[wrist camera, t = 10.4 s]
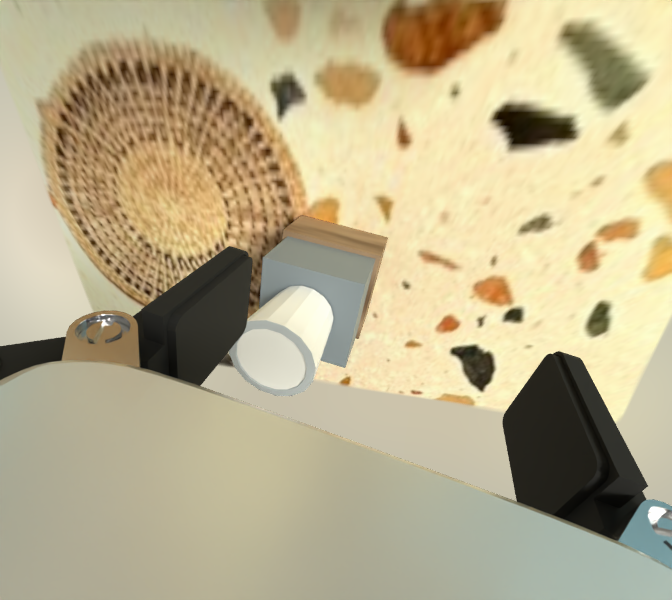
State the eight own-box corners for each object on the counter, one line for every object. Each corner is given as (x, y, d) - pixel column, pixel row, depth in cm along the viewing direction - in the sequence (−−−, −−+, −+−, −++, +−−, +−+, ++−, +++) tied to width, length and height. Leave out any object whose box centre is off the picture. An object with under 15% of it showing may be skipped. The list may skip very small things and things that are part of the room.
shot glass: (340, 283, 29) (313, 327, 23) (340, 350, 33) (316, 405, 27) (264, 274, 31) (220, 314, 25) (271, 339, 34) (235, 388, 28)
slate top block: (287, 236, 35) (262, 257, 30) (375, 258, 34) (365, 284, 29) (279, 311, 40) (256, 341, 35) (356, 333, 39) (345, 367, 34)
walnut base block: (302, 214, 40) (283, 229, 35) (387, 237, 39) (381, 256, 34) (291, 290, 45) (273, 313, 40) (367, 312, 44) (358, 339, 39)
